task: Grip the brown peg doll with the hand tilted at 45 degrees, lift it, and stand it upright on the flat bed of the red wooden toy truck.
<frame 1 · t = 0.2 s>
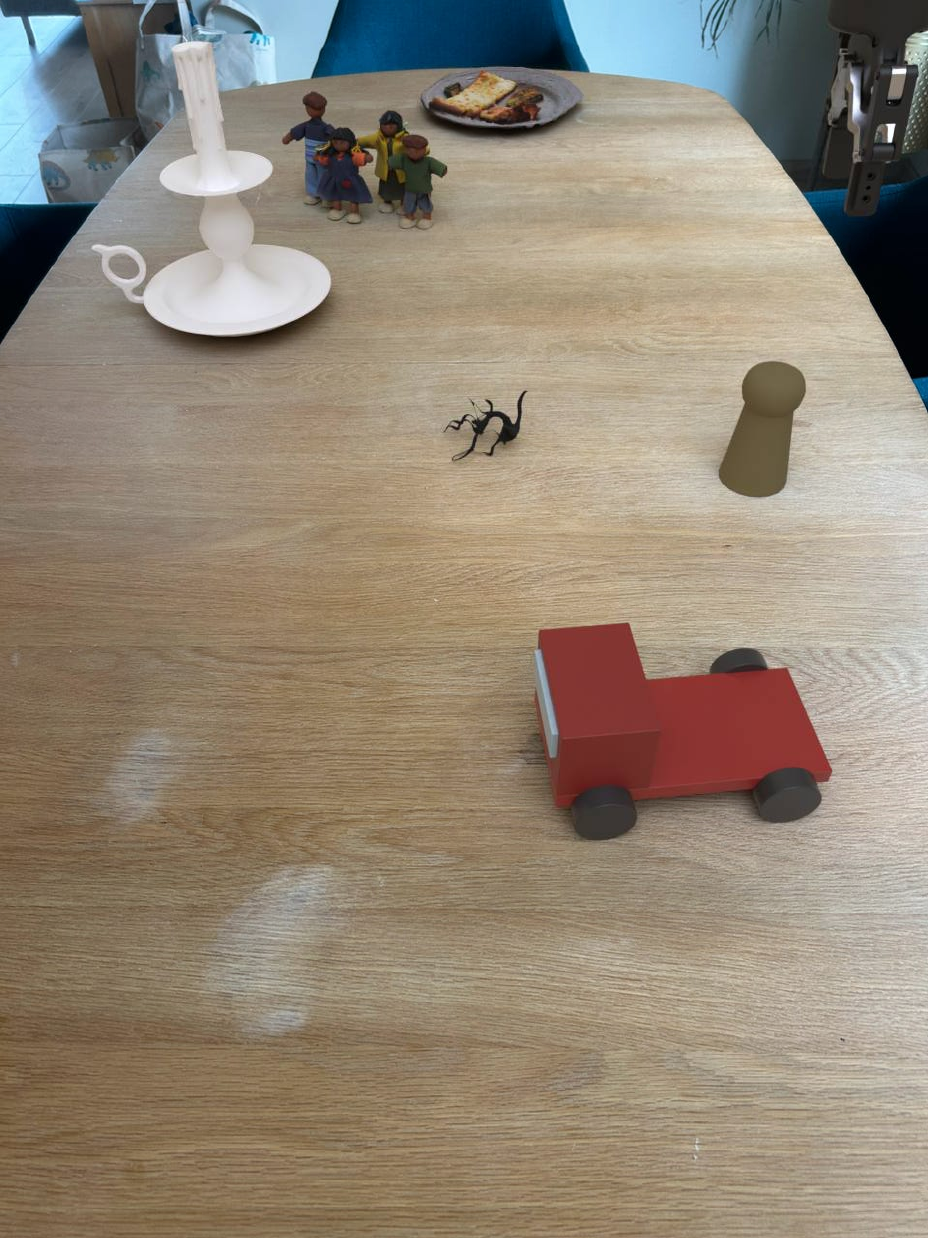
hand: (846, 194, 78), 23 cm above the table, tool pointing down, fingers open, 8 cm apart
toy truck: (671, 757, 69), on the table
doll family: (367, 211, 131), on the table
creature: (480, 444, 95), on the table
food plate: (500, 111, 156), on the table
brown peg doll: (752, 477, 91), on the table
candlestick: (224, 314, 113), on the table
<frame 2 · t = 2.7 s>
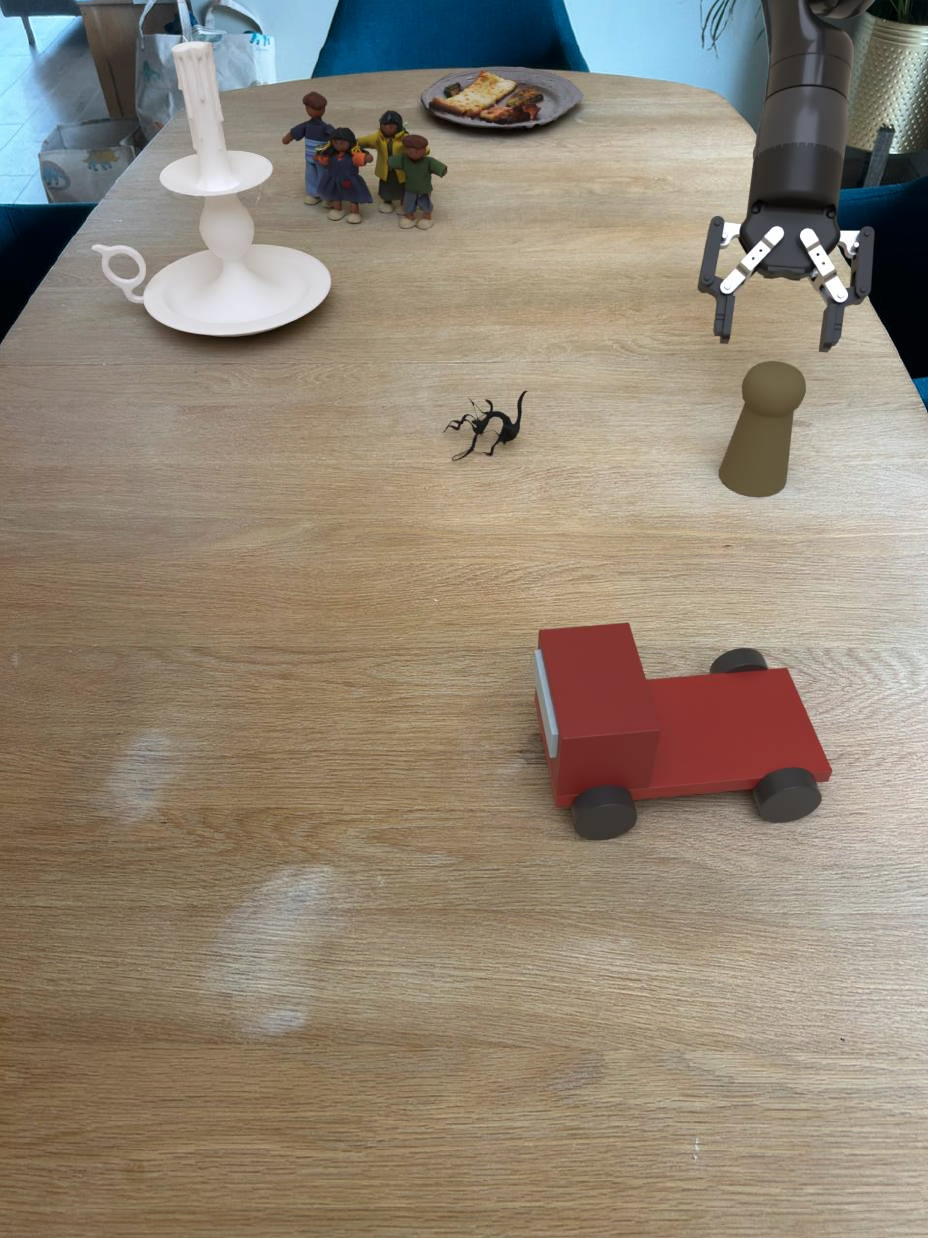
hand: (774, 345, 87), 10 cm above the table, tool tilted 45°, fingers open, 8 cm apart
nothing on the table moved.
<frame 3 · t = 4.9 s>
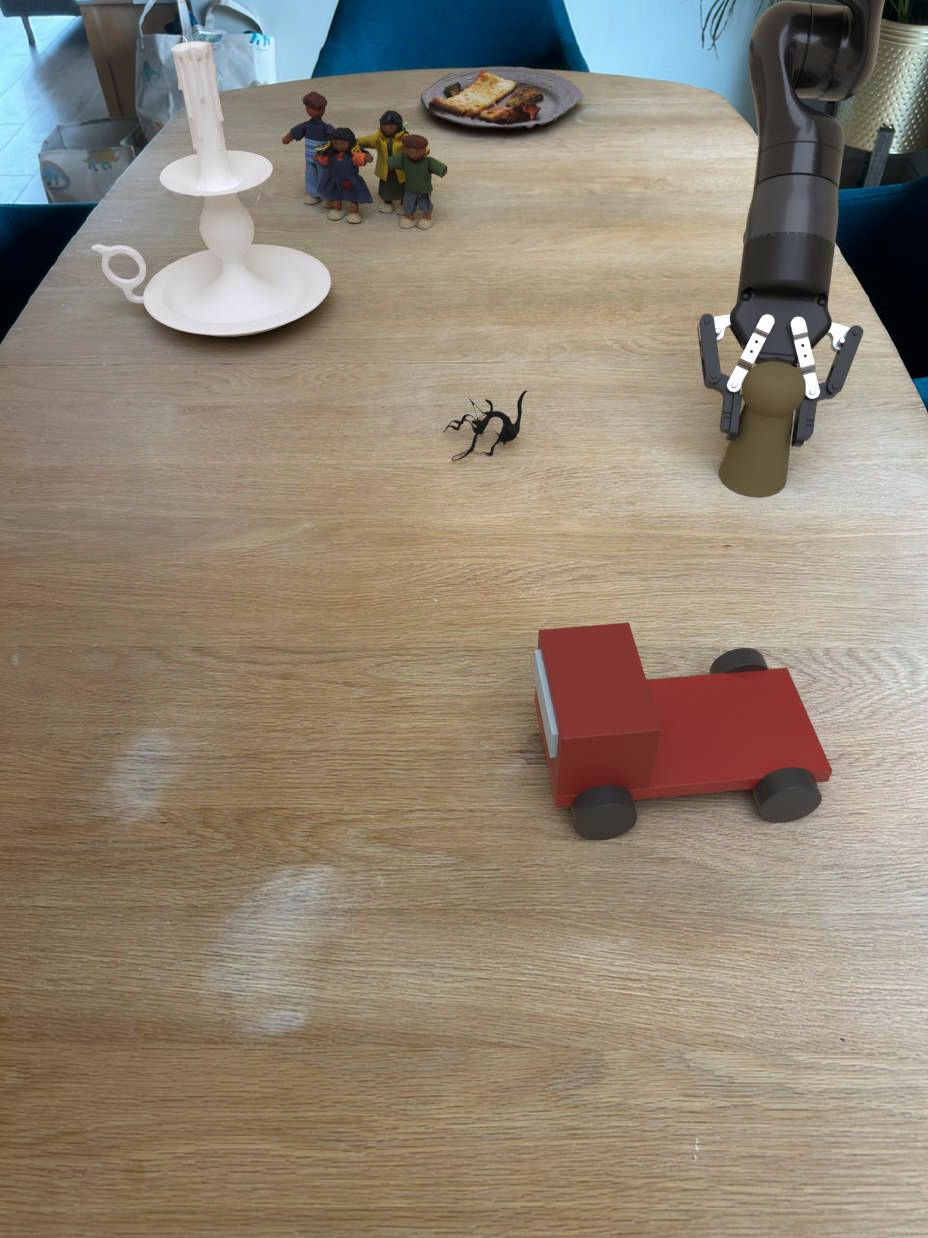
hand: (764, 441, 86), 5 cm above the table, tool tilted 45°, fingers closed on brown peg doll, 5 cm apart
brown peg doll: (751, 477, 91), on the table, touching gripper
everything else where it was.
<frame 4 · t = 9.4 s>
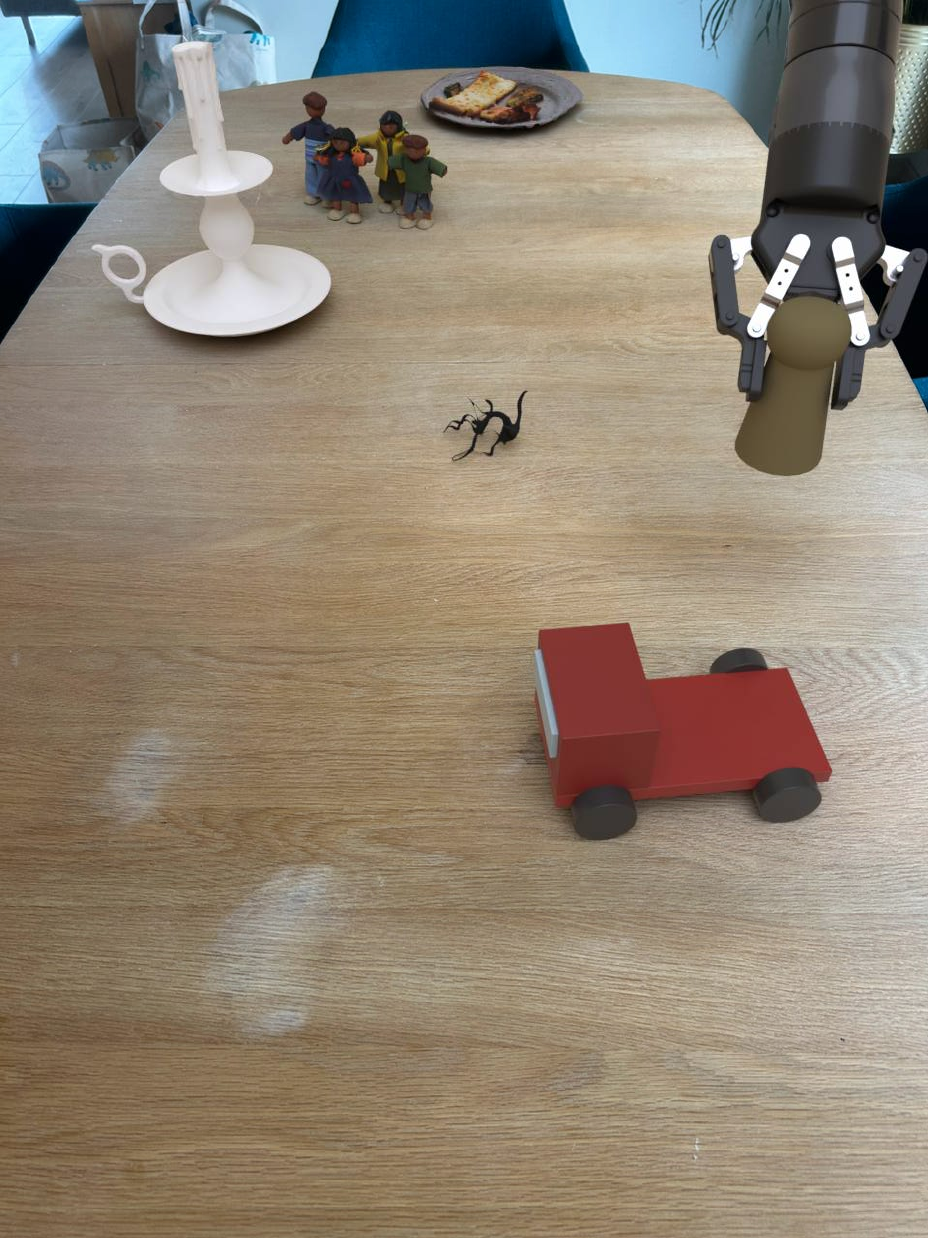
hand: (796, 402, 66), 19 cm above the table, tool tilted 45°, fingers closed on brown peg doll, 5 cm apart
brown peg doll: (777, 451, 71), point 14 cm above the table, touching gripper
everything else where it was.
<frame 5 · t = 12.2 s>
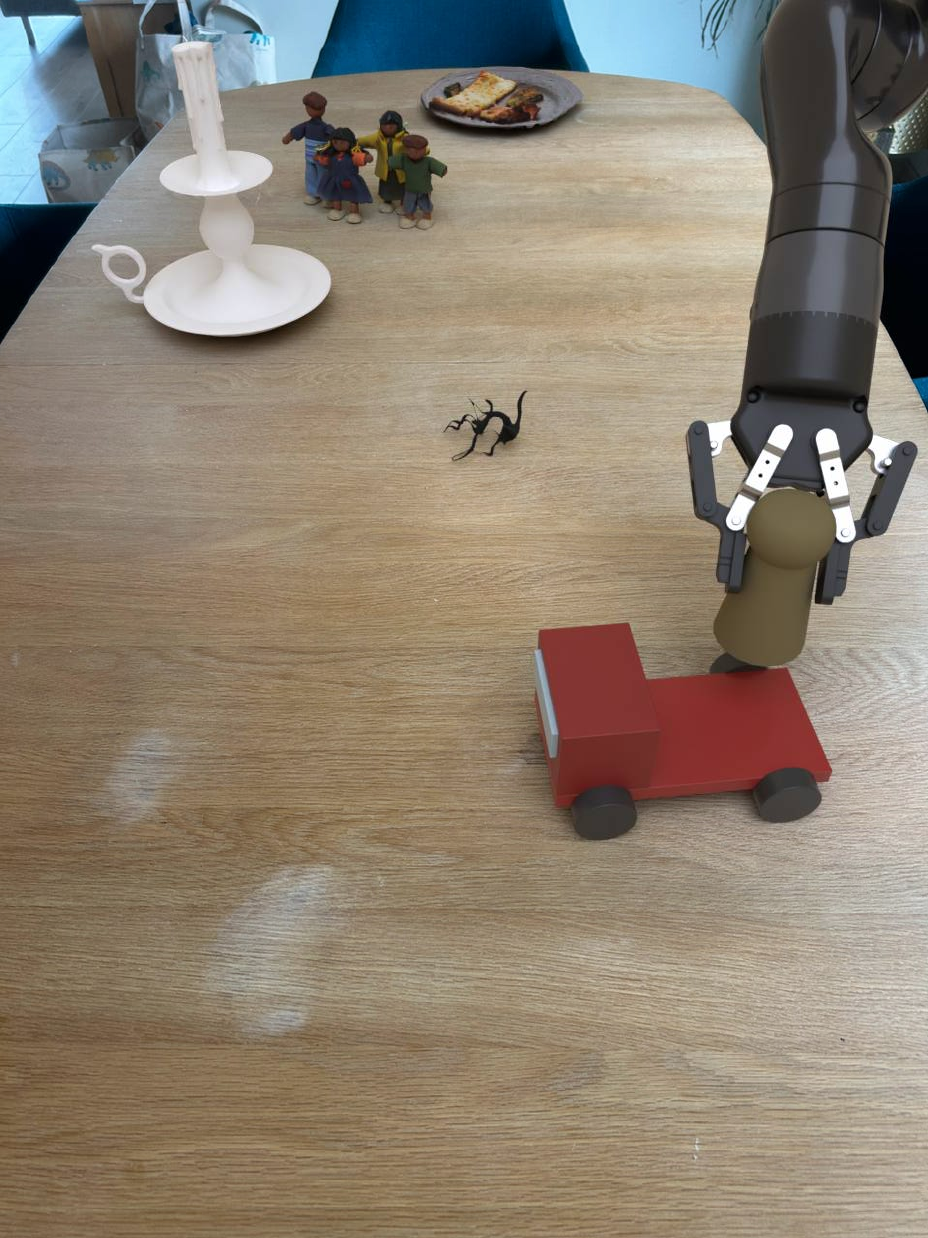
hand: (777, 597, 62), 13 cm above the table, tool tilted 45°, fingers closed on brown peg doll, 5 cm apart
brown peg doll: (757, 634, 67), point 7 cm above the table, touching gripper
everything else where it was.
when the fingers open (8 cm above the table, at t = 14.2 s): brown peg doll stays where it is, resting on toy truck.
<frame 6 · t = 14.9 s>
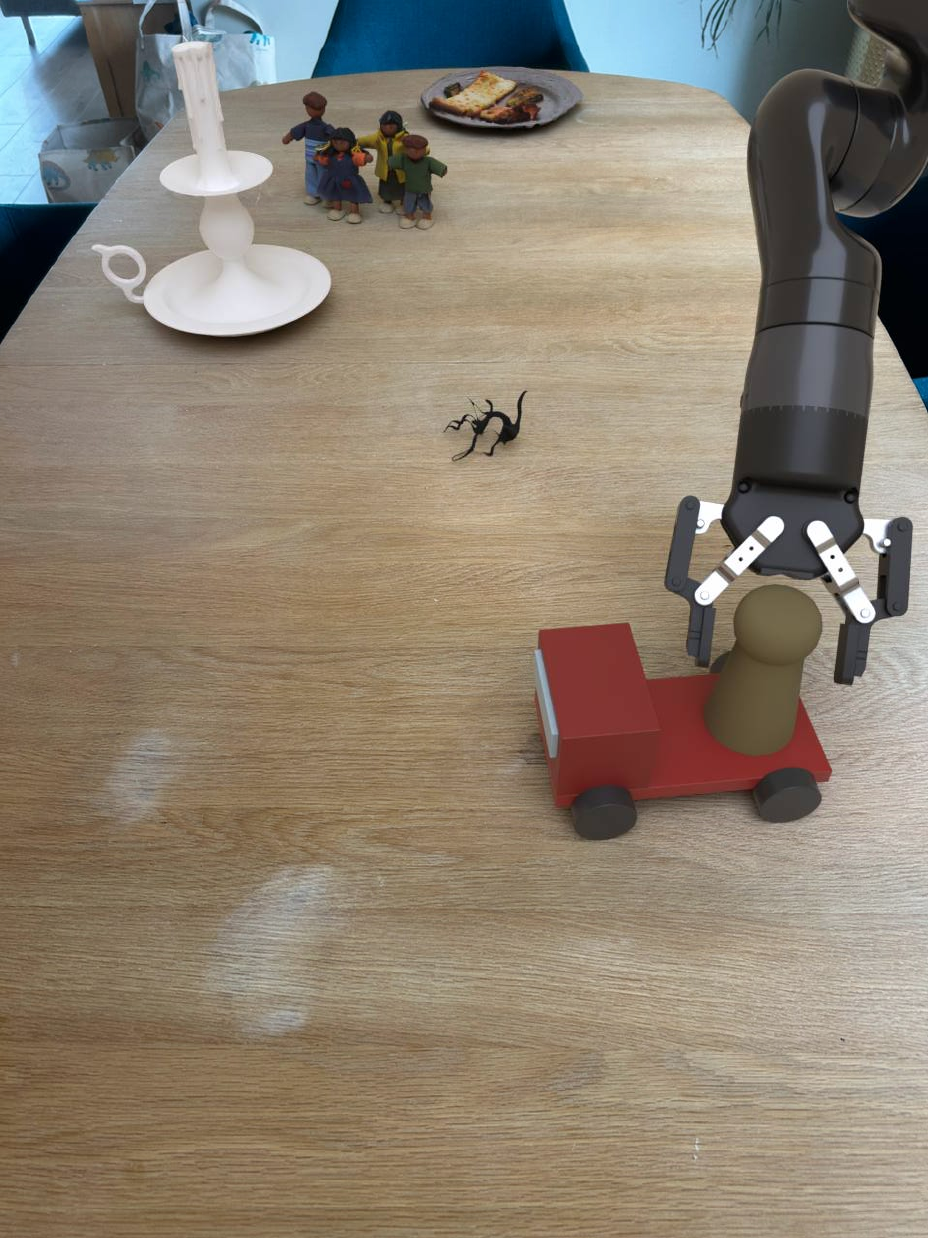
hand: (771, 675, 62), 9 cm above the table, tool tilted 45°, fingers open, 8 cm apart
brown peg doll: (747, 721, 67), point 3 cm above the table, touching toy truck
everything else where it was.
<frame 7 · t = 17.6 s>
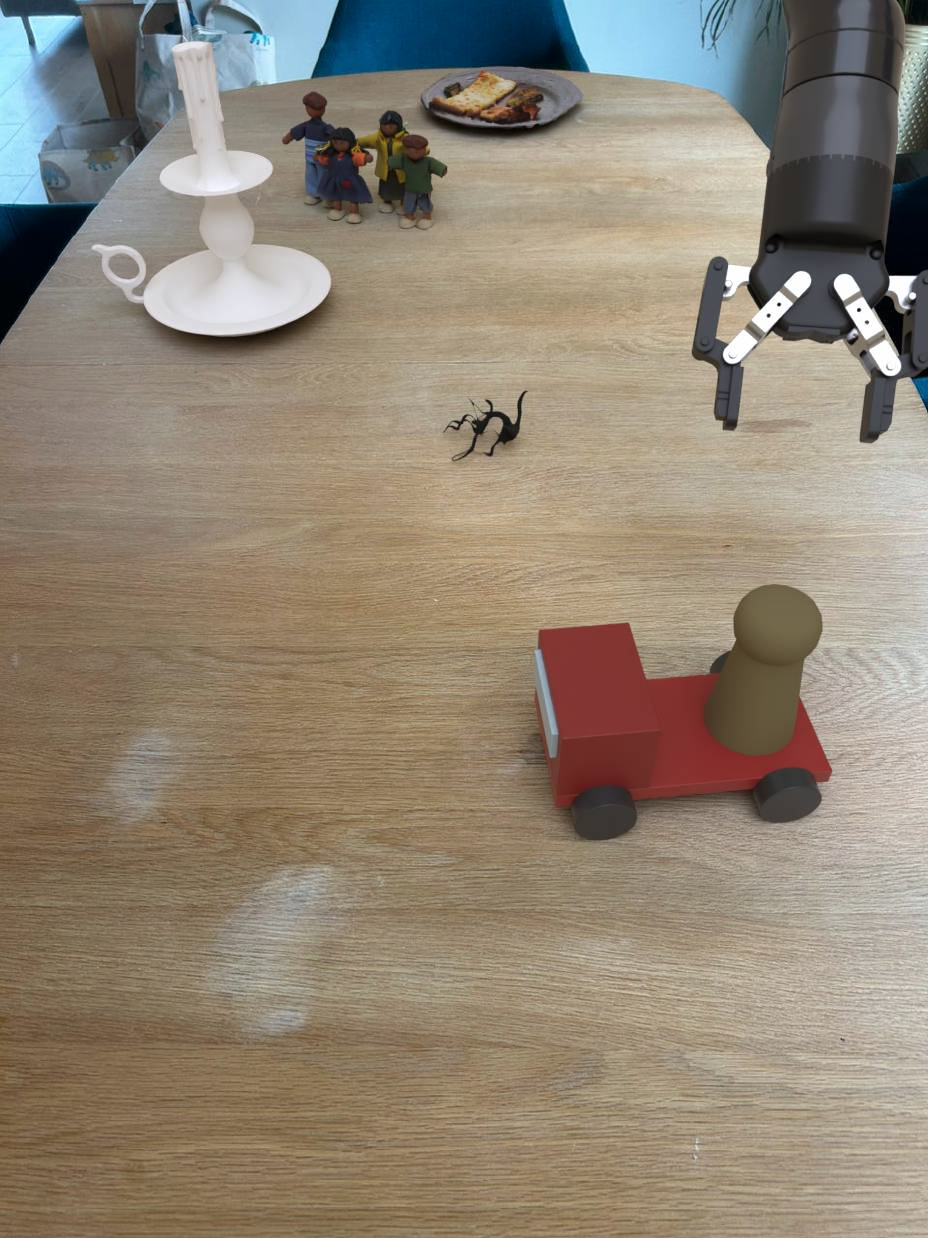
hand: (798, 434, 63), 19 cm above the table, tool tilted 45°, fingers open, 8 cm apart
nothing on the table moved.
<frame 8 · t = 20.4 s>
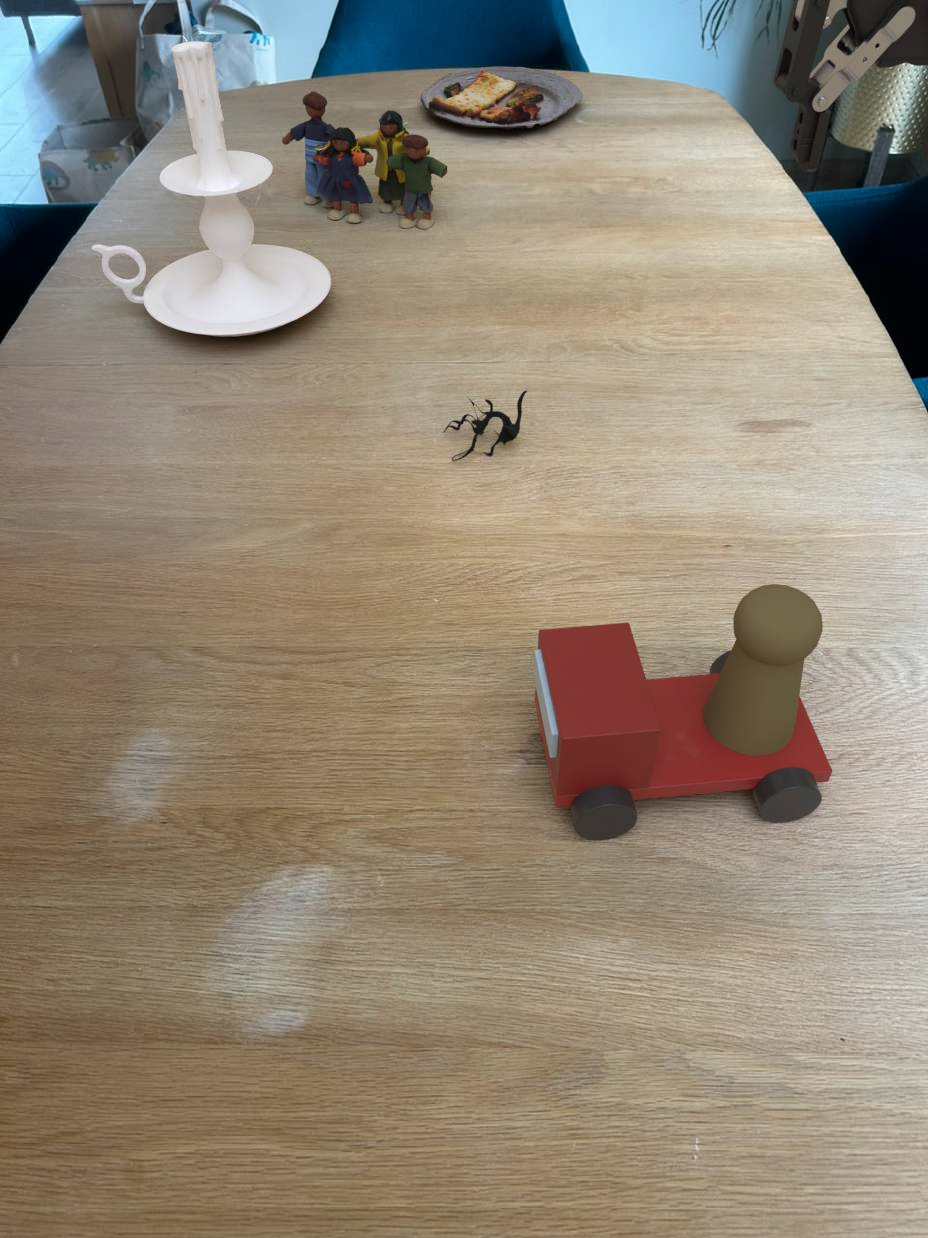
hand: (869, 163, 65), 30 cm above the table, tool pointing down, fingers open, 8 cm apart
nothing on the table moved.
at the end: brown peg doll inside the target area on the toy truck (1.7 cm from its centre), point 3.0 cm above the toy truck's base; brown peg doll tilted 0°; the gripper is holding nothing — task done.
